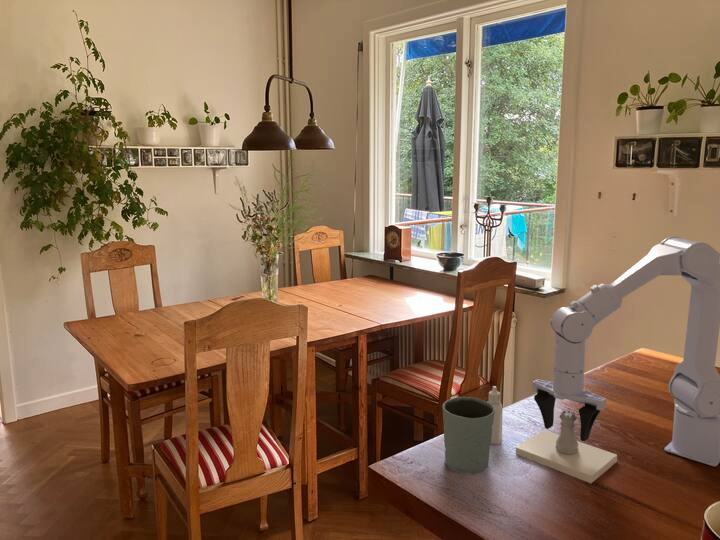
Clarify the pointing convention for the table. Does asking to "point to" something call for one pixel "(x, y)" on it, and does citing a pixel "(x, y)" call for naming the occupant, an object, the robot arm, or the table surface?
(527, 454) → the cream tile
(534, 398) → the robot arm
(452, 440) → the green cup
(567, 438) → the rook chess piece
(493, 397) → the eye dropper bottle
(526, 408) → the table surface
